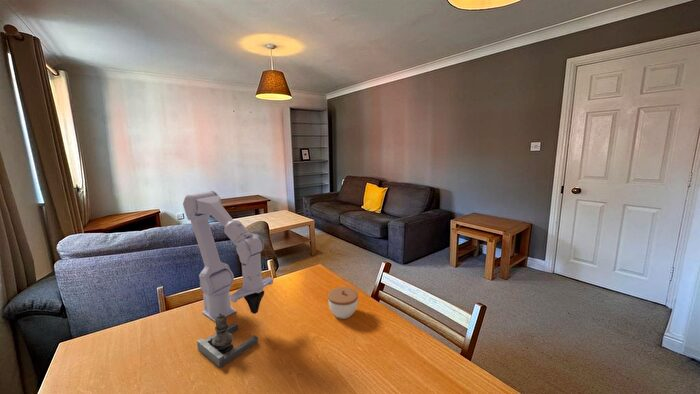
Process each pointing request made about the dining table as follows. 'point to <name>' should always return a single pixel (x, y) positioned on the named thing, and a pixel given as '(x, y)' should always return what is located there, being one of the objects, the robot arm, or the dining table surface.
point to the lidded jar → (343, 301)
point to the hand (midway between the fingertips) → (254, 312)
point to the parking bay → (221, 359)
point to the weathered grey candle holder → (222, 336)
